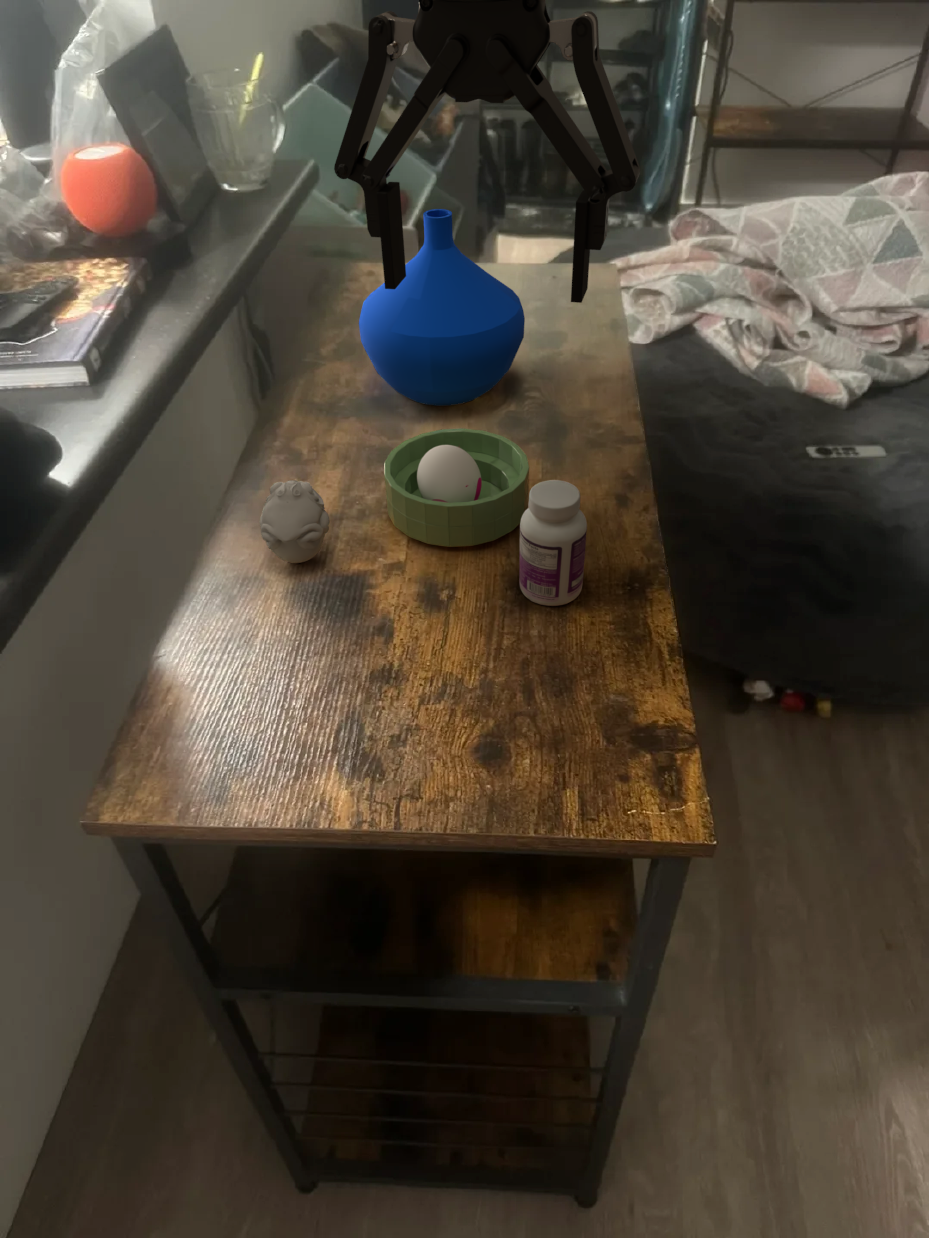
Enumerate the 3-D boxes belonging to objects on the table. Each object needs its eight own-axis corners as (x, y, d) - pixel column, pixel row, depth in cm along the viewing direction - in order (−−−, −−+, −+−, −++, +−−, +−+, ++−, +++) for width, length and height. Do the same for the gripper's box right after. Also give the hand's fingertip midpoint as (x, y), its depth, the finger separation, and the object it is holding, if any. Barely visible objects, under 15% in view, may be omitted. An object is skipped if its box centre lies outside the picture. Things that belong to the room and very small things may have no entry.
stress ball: (475, 553, 83) (516, 503, 79) (402, 521, 79) (442, 467, 76) (465, 505, 88) (503, 456, 85) (397, 473, 85) (433, 420, 81)
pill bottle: (561, 561, 77) (568, 467, 71) (593, 596, 74) (603, 500, 67) (507, 579, 76) (508, 484, 69) (537, 616, 72) (541, 519, 66)
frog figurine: (339, 532, 81) (329, 467, 77) (328, 579, 76) (317, 513, 72) (274, 532, 82) (260, 467, 77) (258, 579, 76) (243, 513, 72)
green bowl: (539, 481, 87) (541, 436, 84) (510, 561, 78) (511, 514, 74) (411, 465, 90) (408, 421, 86) (369, 541, 80) (364, 495, 77)
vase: (483, 341, 111) (482, 178, 99) (550, 404, 99) (559, 226, 86) (345, 369, 106) (325, 201, 94) (397, 439, 94) (382, 256, 81)
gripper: (711, -98, 49) (665, 281, 63) (300, -88, 55) (341, 260, 69) (704, -91, 44) (655, 322, 58) (248, -81, 49) (304, 296, 63)
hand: (485, 289), depth 63 cm, fingers open, 13 cm apart
